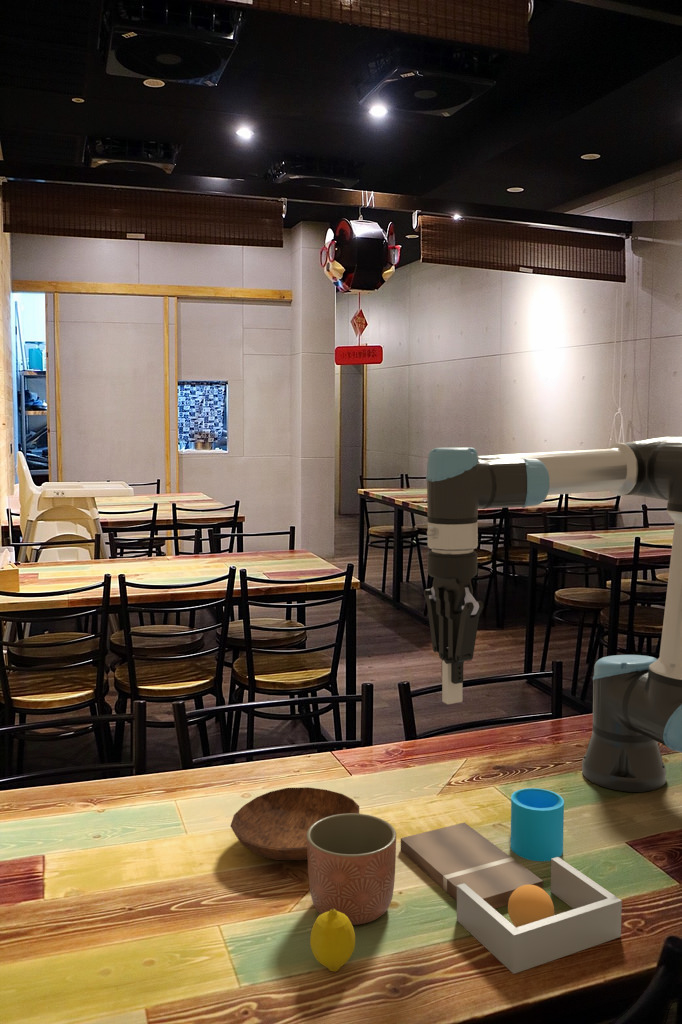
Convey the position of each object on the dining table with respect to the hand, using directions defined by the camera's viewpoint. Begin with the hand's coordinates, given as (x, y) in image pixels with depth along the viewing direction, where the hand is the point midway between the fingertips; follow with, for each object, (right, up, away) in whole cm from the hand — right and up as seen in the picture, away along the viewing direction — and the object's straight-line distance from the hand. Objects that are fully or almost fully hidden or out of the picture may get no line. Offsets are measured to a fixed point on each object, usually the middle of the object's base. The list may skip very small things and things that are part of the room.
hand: (452, 701), depth 131 cm
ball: (+8, -23, -18) cm, 31 cm away
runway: (+2, -25, -3) cm, 25 cm away
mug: (+13, -24, +6) cm, 28 cm away
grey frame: (+9, -26, -17) cm, 33 cm away
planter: (-16, -26, -12) cm, 33 cm away
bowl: (-24, -25, +6) cm, 35 cm away
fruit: (-18, -28, -26) cm, 42 cm away
